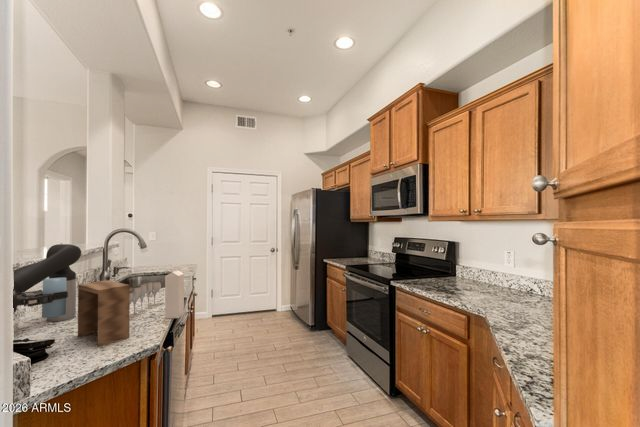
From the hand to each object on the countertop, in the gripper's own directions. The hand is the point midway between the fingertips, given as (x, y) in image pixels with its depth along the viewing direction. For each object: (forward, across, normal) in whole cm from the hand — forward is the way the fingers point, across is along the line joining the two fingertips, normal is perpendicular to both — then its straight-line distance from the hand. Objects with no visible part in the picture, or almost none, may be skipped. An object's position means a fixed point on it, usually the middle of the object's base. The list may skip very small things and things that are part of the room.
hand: (63, 293), depth 103 cm
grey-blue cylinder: (-2, 0, -7) cm, 7 cm away
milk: (+41, -2, -19) cm, 45 cm away
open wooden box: (+12, -1, -19) cm, 23 cm away
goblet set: (+36, -22, -19) cm, 47 cm away
